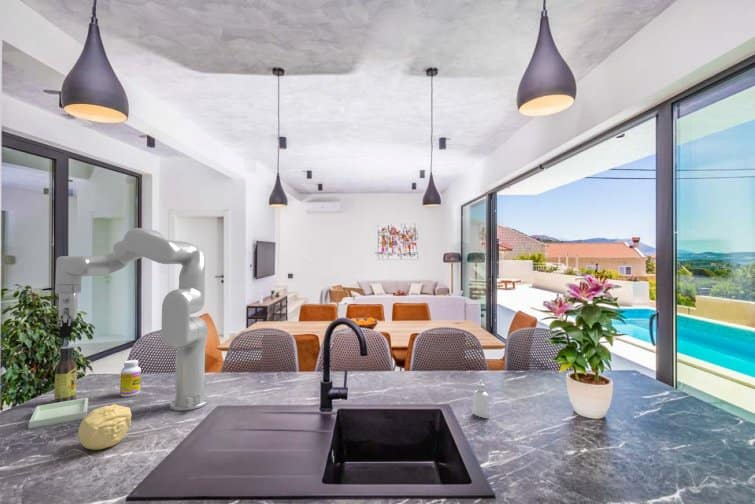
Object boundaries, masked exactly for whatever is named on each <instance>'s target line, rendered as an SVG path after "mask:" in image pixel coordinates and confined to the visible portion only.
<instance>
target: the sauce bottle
mask: <svg viewBox="0 0 755 504" xmlns="http://www.w3.org/2000/svg"><path fill="white" fill-rule="evenodd" d="M74 351H75V347H74V346H72V345H71V346H62V347H60V348H59V352H60V353H59V354H60V356H59V361H58V363H57V364H56V366H55V373H54V389H53V390H54V391H53V392H54V393H53V395H54V400H53V401H54V402H53V403H59V402H65V401H71V400H76V397H77V396H76V395H77V378H78V377H77V376H78V375H77V374H78V366H77V363H76V361H75V360H74Z"/></svg>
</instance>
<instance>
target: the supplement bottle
mask: <svg viewBox="0 0 755 504" xmlns="http://www.w3.org/2000/svg"><path fill="white" fill-rule="evenodd" d="M123 365H124V367H123V368H122V369H121V370H120V385H119V387H120V388H119V395H120V396H121V397H122V398H123V397H125V398H126V397H134V396H136V395H140V393H141V383H142V382H141V377H142V368H141V367H140V366H139V360H137V359H130V360H125V361H124V362H123Z"/></svg>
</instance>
